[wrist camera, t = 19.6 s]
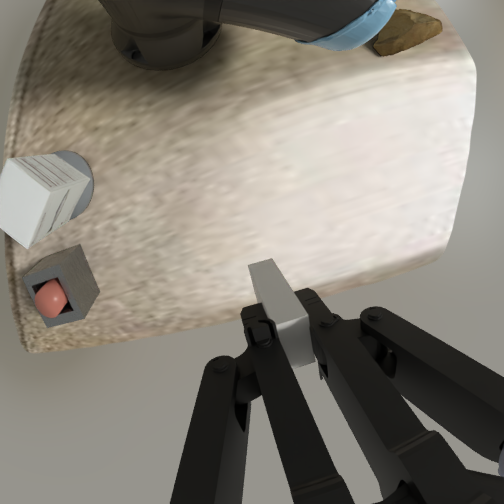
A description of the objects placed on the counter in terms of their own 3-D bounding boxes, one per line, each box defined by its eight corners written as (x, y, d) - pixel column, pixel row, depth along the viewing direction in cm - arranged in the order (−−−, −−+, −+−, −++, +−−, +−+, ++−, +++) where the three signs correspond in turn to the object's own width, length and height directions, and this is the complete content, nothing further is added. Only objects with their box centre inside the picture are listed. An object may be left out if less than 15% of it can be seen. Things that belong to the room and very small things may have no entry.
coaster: (29, 166, 34) (26, 166, 33) (83, 140, 34) (81, 139, 33) (48, 228, 37) (45, 230, 36) (102, 206, 38) (100, 208, 37)
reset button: (49, 273, 36) (29, 294, 30) (70, 266, 37) (51, 287, 31) (60, 297, 38) (43, 320, 32) (81, 291, 38) (64, 314, 32)
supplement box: (69, 222, 37) (26, 252, 25) (33, 196, 34) (-17, 216, 22) (93, 178, 35) (51, 192, 24) (55, 151, 33) (5, 156, 21)
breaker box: (44, 257, 38) (21, 277, 31) (80, 244, 39) (59, 264, 32) (64, 301, 41) (46, 328, 34) (100, 291, 42) (84, 318, 34)
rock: (391, 72, 35) (435, 59, 34) (398, 31, 27) (446, 23, 26) (352, 33, 38) (395, 23, 37) (351, -4, 30) (399, -12, 29)
